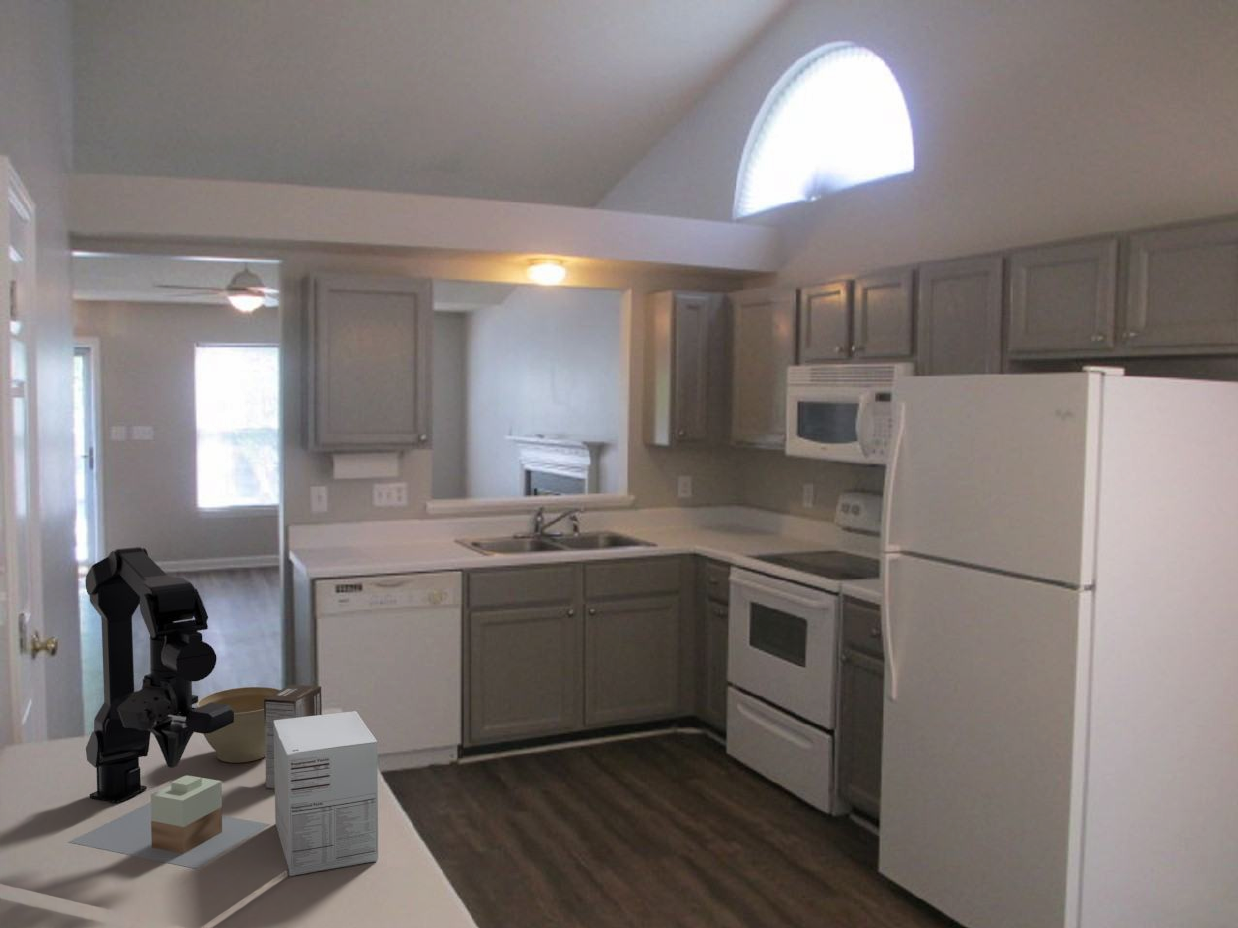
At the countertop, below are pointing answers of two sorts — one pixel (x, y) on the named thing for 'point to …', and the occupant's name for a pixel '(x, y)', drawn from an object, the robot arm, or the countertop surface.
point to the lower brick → (186, 833)
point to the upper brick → (186, 800)
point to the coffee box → (287, 716)
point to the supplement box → (326, 791)
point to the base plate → (135, 840)
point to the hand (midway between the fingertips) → (172, 766)
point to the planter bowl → (240, 724)
